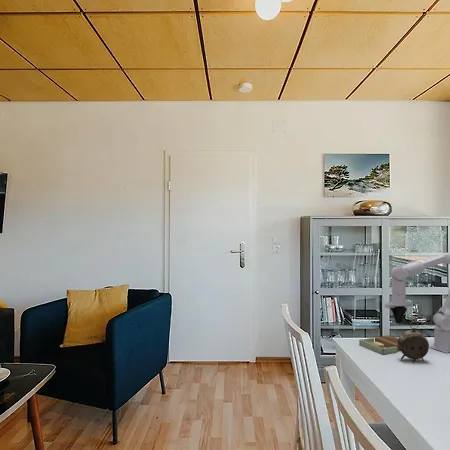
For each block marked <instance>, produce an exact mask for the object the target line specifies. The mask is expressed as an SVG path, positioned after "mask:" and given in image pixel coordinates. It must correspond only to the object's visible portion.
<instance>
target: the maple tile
mask: <svg viewBox="0 0 450 450" xmlns="http://www.w3.org/2000/svg"><path fill="white" fill-rule="evenodd" d="M370 344H373V345H375V346H378V347H380V348H384V344H381V343H379V342H375V341H374V342H370Z"/></svg>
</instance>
